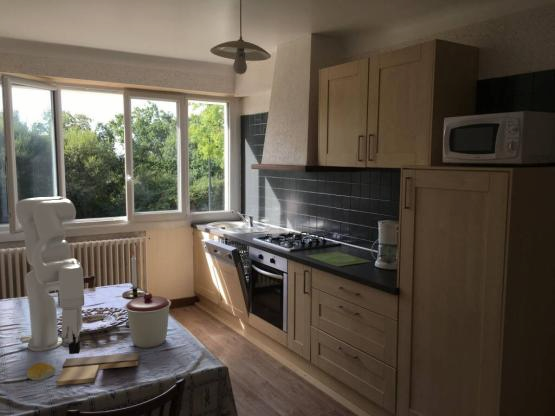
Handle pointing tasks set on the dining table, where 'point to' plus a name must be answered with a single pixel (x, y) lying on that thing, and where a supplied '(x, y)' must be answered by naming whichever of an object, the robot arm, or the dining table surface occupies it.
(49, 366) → the bread roll
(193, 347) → the dining table surface
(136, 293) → the candlestick
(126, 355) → the walnut floor strip
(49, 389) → the dining table surface
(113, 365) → the oak plank right
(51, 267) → the robot arm
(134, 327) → the canister
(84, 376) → the oak plank left
